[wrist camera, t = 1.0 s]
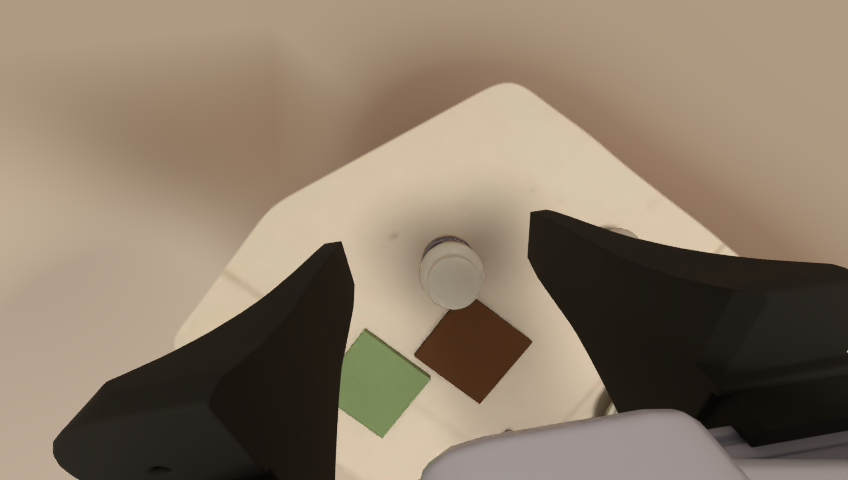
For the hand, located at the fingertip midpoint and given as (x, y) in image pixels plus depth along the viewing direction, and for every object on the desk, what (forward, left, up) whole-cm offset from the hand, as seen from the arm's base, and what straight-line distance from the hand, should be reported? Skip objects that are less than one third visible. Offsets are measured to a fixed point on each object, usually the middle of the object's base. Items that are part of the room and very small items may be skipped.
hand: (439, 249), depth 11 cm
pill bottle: (-3, +2, -20) cm, 20 cm away
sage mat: (-5, +18, -20) cm, 28 cm away
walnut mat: (-11, +8, -20) cm, 24 cm away
